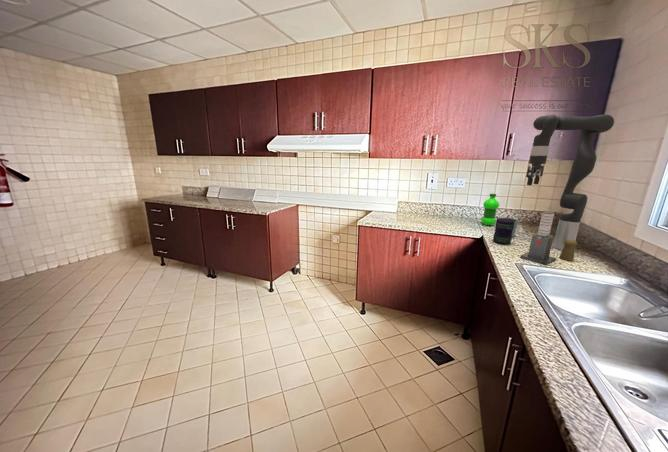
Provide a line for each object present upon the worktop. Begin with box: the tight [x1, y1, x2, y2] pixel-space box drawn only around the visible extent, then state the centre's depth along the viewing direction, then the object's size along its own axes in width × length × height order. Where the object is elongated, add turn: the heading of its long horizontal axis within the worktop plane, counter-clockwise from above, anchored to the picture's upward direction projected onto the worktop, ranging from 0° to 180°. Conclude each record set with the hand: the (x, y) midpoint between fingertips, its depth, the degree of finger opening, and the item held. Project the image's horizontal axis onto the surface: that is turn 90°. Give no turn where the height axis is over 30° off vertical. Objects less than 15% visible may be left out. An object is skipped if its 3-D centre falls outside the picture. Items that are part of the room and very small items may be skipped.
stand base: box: [519, 232, 557, 266], centre depth 139 cm, size 12×12×14 cm
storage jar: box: [492, 217, 515, 246], centre depth 165 cm, size 10×10×15 cm
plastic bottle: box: [480, 193, 500, 226], centre depth 205 cm, size 10×10×25 cm
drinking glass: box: [504, 217, 519, 239], centre depth 179 cm, size 10×10×12 cm
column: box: [537, 210, 555, 237], centre depth 136 cm, size 4×4×20 cm
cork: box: [558, 239, 578, 263], centre depth 139 cm, size 6×6×11 cm
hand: (532, 184), depth 146 cm, fingers open, 8 cm apart
